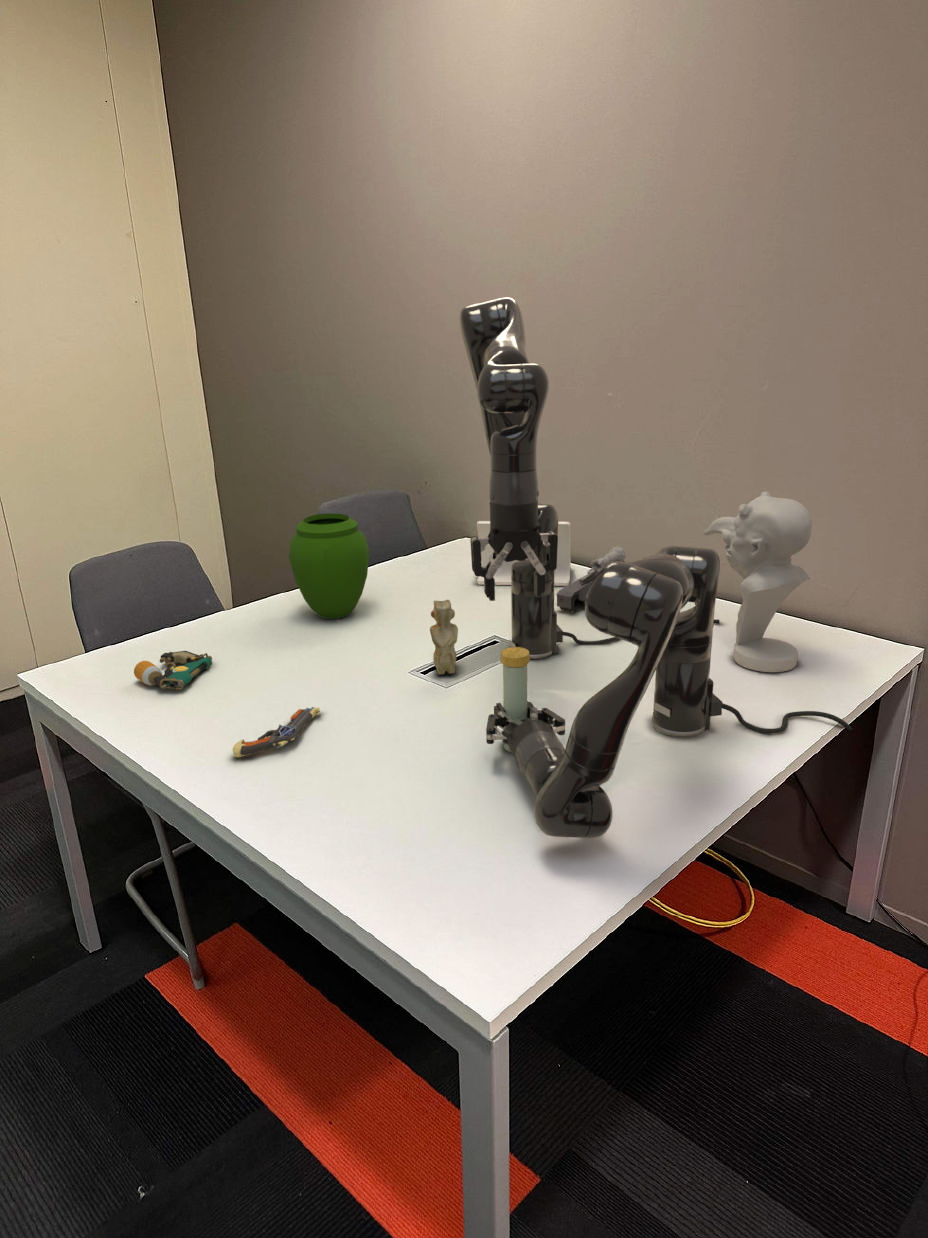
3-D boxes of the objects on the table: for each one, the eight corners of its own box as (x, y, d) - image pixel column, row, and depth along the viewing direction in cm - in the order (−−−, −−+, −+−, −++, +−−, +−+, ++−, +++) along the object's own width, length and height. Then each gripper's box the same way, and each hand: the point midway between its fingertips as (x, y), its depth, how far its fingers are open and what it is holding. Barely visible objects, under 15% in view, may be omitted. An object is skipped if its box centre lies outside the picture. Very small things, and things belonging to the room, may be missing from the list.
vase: (389, 608, 216) (383, 514, 208) (339, 633, 201) (330, 533, 192) (330, 596, 226) (322, 506, 218) (278, 619, 211) (267, 523, 202)
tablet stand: (569, 585, 229) (570, 524, 223) (476, 584, 232) (475, 523, 226) (570, 566, 246) (571, 508, 240) (484, 564, 249) (483, 507, 243)
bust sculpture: (733, 628, 197) (746, 477, 185) (818, 663, 177) (839, 497, 165) (679, 642, 190) (690, 486, 178) (762, 680, 170) (780, 508, 158)
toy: (603, 584, 229) (605, 530, 224) (673, 597, 218) (677, 540, 213) (555, 612, 210) (556, 553, 205) (630, 627, 199) (633, 566, 194)
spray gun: (177, 659, 191) (231, 671, 185) (120, 684, 176) (176, 698, 171) (176, 641, 190) (230, 653, 184) (118, 665, 175) (174, 678, 169)
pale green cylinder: (514, 755, 146) (514, 661, 140) (499, 746, 149) (497, 654, 143) (532, 747, 148) (532, 655, 142) (516, 739, 151) (515, 648, 145)
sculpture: (458, 662, 183) (456, 596, 178) (460, 676, 176) (457, 608, 171) (431, 663, 183) (428, 597, 177) (431, 677, 176) (428, 609, 171)
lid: (514, 670, 140) (514, 660, 139) (494, 661, 143) (494, 652, 142) (535, 662, 142) (535, 652, 142) (516, 653, 146) (516, 644, 145)
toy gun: (227, 747, 146) (281, 745, 144) (271, 705, 164) (320, 702, 162) (230, 762, 146) (284, 759, 144) (274, 718, 164) (322, 715, 162)
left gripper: (552, 489, 137) (551, 586, 143) (464, 495, 135) (467, 593, 141) (564, 499, 130) (563, 601, 136) (472, 505, 128) (475, 608, 134)
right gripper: (583, 726, 133) (550, 681, 149) (494, 738, 130) (470, 691, 146) (582, 768, 136) (550, 720, 151) (495, 780, 133) (471, 730, 149)
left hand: (514, 597), depth 139 cm, fingers open, 7 cm apart
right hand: (511, 706), depth 149 cm, fingers closed on pale green cylinder, 4 cm apart
